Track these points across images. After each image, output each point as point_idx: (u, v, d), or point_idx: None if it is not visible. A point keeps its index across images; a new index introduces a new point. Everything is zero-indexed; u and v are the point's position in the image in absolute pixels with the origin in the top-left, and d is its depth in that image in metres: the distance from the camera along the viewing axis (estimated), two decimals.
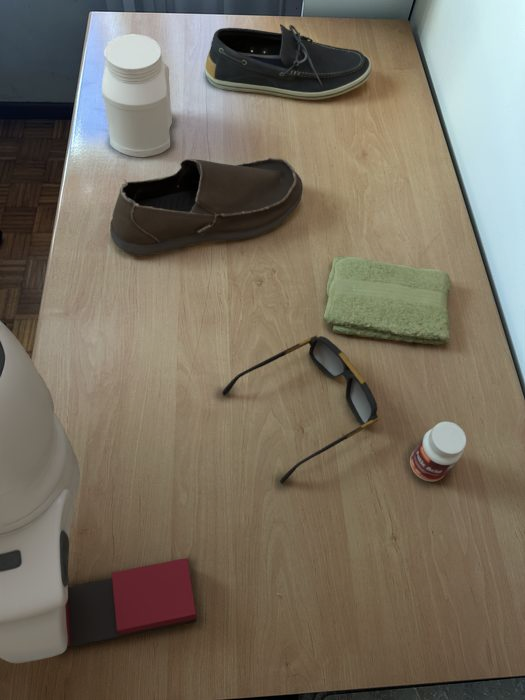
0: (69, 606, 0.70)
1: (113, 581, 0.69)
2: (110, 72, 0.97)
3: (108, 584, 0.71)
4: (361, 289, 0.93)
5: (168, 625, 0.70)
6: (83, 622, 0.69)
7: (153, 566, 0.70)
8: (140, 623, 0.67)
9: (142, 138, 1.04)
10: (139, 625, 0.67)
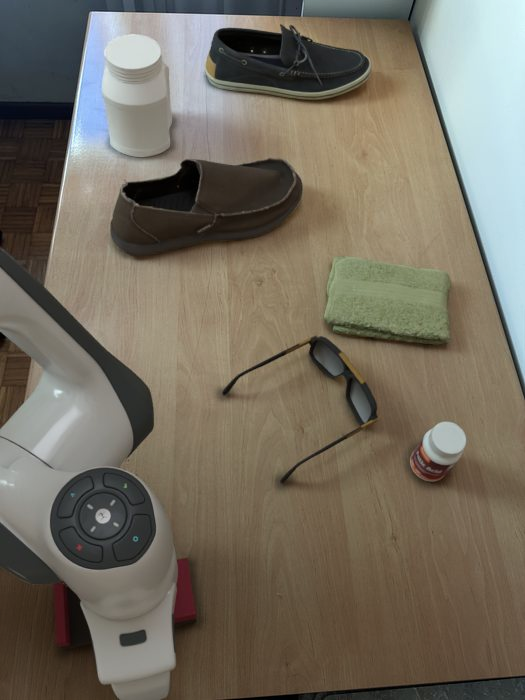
0: (69, 606, 0.70)
1: None
2: (110, 72, 0.97)
3: None
4: (361, 288, 0.93)
5: None
6: (83, 622, 0.69)
7: None
8: None
9: (142, 138, 1.04)
10: None
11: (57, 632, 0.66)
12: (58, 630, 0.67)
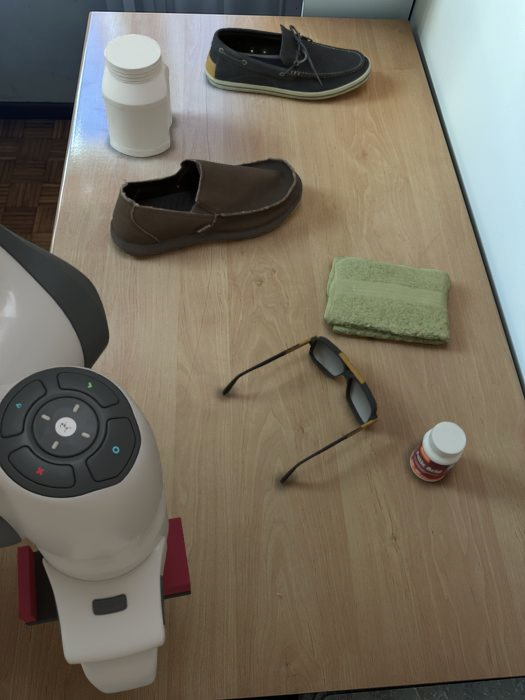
0: (37, 574, 0.58)
1: None
2: (110, 72, 0.97)
3: None
4: (361, 289, 0.93)
5: None
6: (53, 593, 0.57)
7: None
8: None
9: (142, 138, 1.04)
10: None
11: (20, 604, 0.54)
12: (21, 602, 0.54)
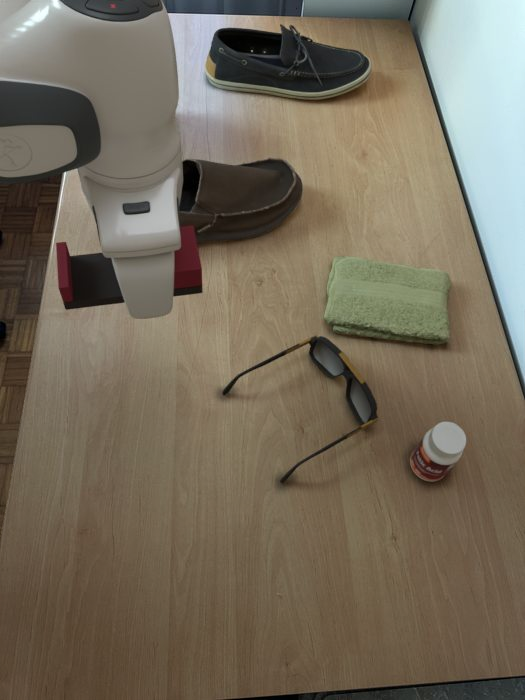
0: (72, 271, 0.68)
1: None
2: None
3: None
4: (361, 288, 0.93)
5: None
6: (86, 283, 0.68)
7: None
8: None
9: None
10: None
11: (59, 279, 0.65)
12: (61, 278, 0.65)
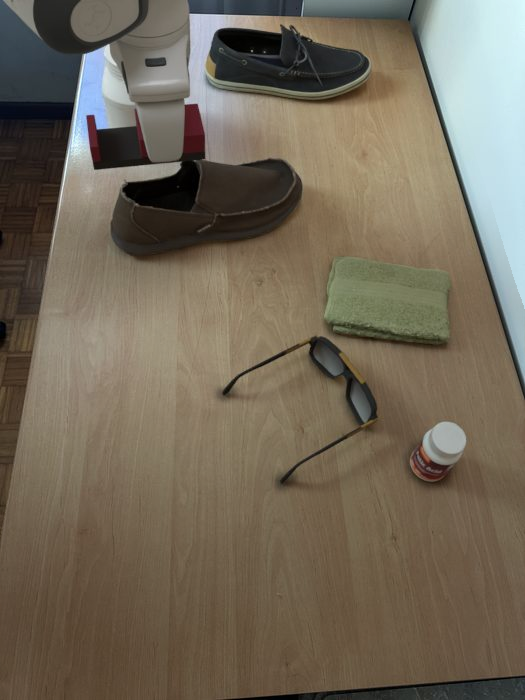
0: (99, 140, 0.84)
1: (136, 113, 0.83)
2: (110, 72, 0.97)
3: (131, 129, 0.85)
4: (361, 288, 0.93)
5: (182, 154, 0.83)
6: (111, 149, 0.83)
7: None
8: None
9: None
10: None
11: (90, 141, 0.80)
12: (91, 140, 0.80)
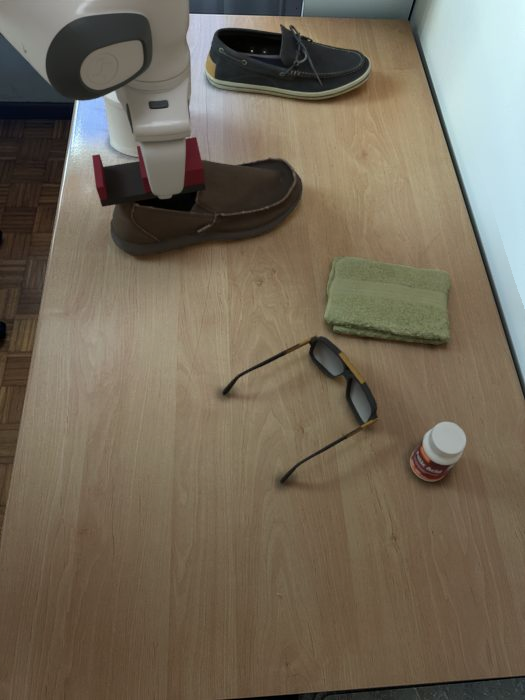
0: (105, 177, 0.89)
1: (138, 150, 0.88)
2: None
3: (135, 164, 0.90)
4: (361, 288, 0.93)
5: (183, 187, 0.88)
6: (116, 186, 0.88)
7: None
8: None
9: None
10: None
11: (96, 181, 0.86)
12: (97, 180, 0.86)
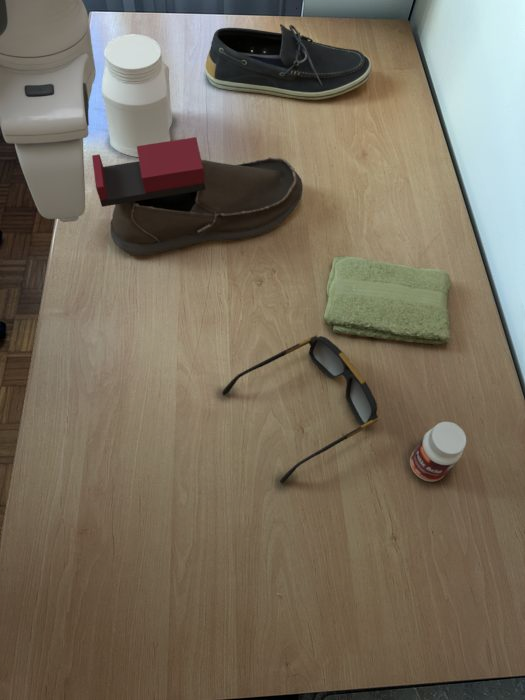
0: (105, 177, 0.89)
1: (138, 150, 0.88)
2: (110, 72, 0.97)
3: (135, 164, 0.90)
4: (361, 288, 0.93)
5: (183, 187, 0.88)
6: (116, 186, 0.88)
7: (169, 142, 0.88)
8: (159, 173, 0.86)
9: (142, 138, 1.04)
10: (159, 175, 0.86)
11: (96, 181, 0.86)
12: (97, 180, 0.86)
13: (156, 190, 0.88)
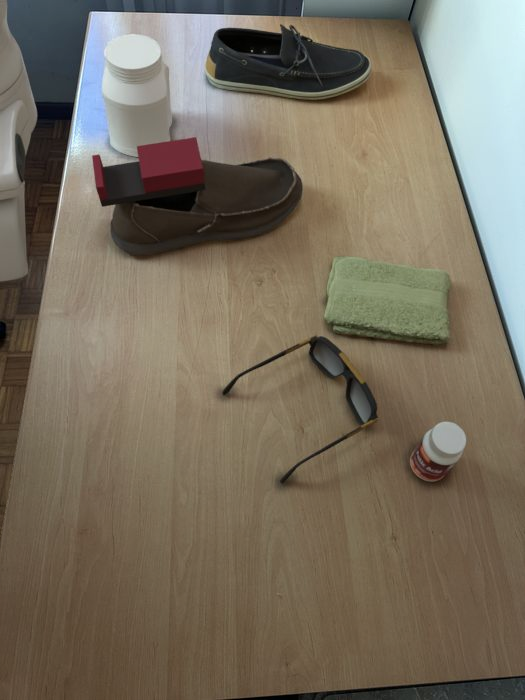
0: (105, 177, 0.89)
1: (138, 151, 0.88)
2: (110, 72, 0.97)
3: (135, 164, 0.90)
4: (361, 288, 0.93)
5: (183, 187, 0.88)
6: (116, 186, 0.88)
7: (169, 142, 0.88)
8: (159, 173, 0.86)
9: (142, 138, 1.04)
10: (159, 175, 0.86)
11: (96, 181, 0.86)
12: (97, 180, 0.86)
13: (156, 190, 0.88)
